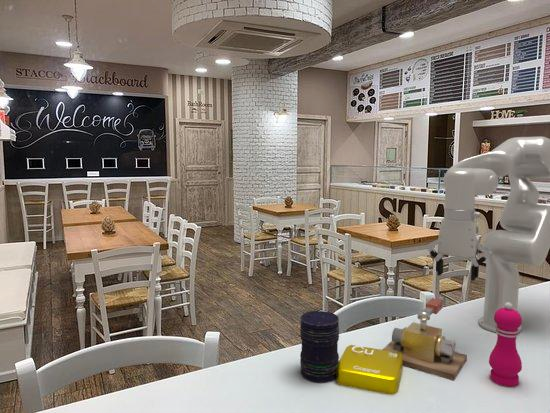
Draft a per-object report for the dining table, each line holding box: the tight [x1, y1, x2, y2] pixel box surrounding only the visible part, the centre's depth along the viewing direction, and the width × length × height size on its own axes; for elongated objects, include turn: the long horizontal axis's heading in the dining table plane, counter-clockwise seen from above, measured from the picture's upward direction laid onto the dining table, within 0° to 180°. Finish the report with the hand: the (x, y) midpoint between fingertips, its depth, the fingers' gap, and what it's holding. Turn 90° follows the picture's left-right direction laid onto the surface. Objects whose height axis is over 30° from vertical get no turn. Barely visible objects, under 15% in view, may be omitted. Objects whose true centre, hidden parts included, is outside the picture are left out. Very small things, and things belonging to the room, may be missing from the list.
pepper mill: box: [488, 302, 523, 387], centre depth 106 cm, size 7×7×20 cm
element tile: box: [335, 344, 404, 395], centre depth 110 cm, size 15×15×5 cm
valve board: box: [381, 340, 468, 381], centre depth 118 cm, size 13×20×2 cm, turn 53°
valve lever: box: [417, 297, 444, 321], centre depth 121 cm, size 14×3×2 cm, turn 143°
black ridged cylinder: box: [299, 310, 340, 384], centre depth 110 cm, size 10×10×15 cm
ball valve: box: [391, 319, 456, 364], centre depth 117 cm, size 7×16×10 cm, turn 53°
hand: (456, 276), depth 120 cm, fingers open, 8 cm apart
